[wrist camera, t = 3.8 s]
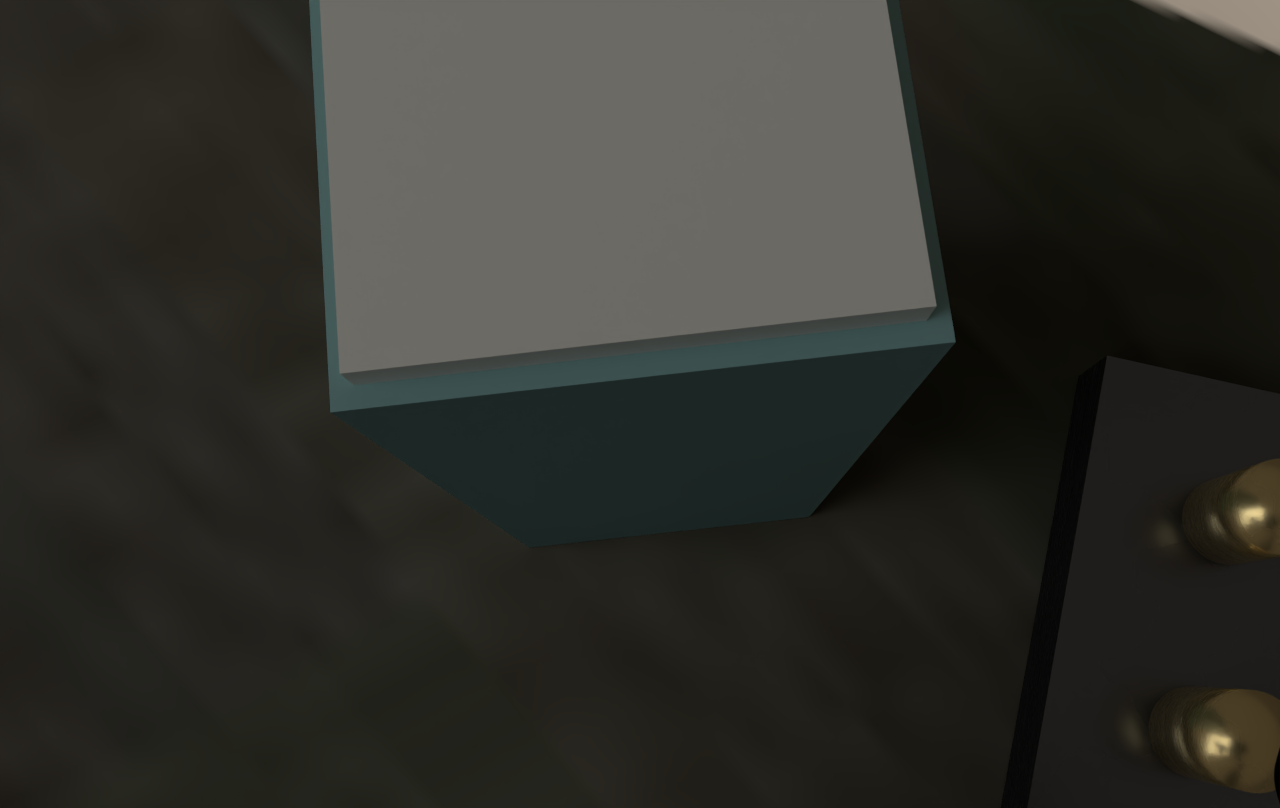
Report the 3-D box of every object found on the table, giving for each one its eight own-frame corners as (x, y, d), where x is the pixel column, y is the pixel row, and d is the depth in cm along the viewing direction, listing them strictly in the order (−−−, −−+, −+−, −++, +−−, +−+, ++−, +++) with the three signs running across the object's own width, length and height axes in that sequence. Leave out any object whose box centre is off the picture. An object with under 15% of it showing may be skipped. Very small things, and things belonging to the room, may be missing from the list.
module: (809, 516, 21) (966, 328, 9) (529, 547, 21) (314, 402, 9) (773, 250, 22) (870, -238, 10) (506, 280, 22) (287, -168, 10)
